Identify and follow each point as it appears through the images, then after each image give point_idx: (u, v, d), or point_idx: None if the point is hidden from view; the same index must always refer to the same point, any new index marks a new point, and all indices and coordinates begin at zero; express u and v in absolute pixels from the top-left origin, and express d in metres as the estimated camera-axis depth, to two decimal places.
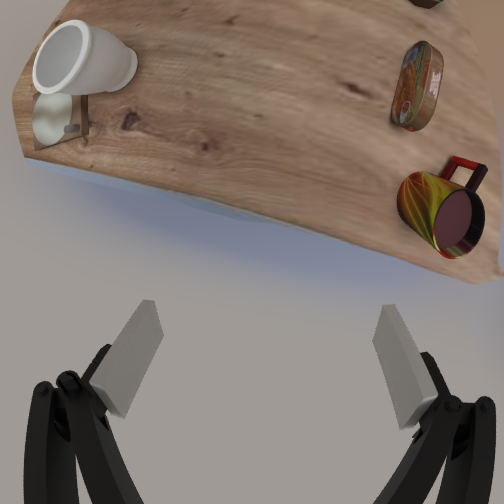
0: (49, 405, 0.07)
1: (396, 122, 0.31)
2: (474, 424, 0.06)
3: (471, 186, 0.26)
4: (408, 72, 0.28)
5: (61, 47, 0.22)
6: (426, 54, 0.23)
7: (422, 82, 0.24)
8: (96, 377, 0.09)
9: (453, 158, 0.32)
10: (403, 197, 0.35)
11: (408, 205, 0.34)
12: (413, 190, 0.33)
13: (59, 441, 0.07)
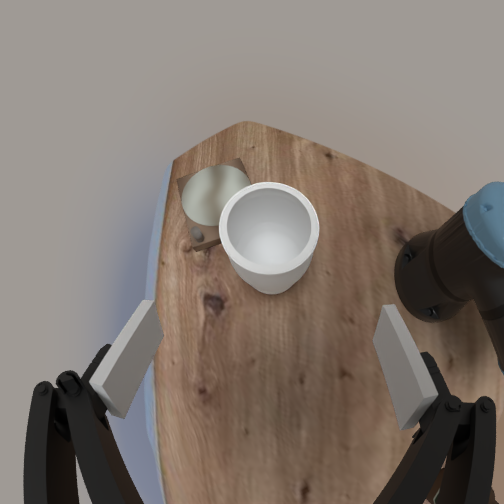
0: (49, 405, 0.07)
1: None
2: (474, 424, 0.06)
3: None
4: None
5: (287, 205, 0.33)
6: None
7: None
8: (96, 377, 0.09)
9: None
10: None
11: None
12: None
13: (59, 441, 0.07)
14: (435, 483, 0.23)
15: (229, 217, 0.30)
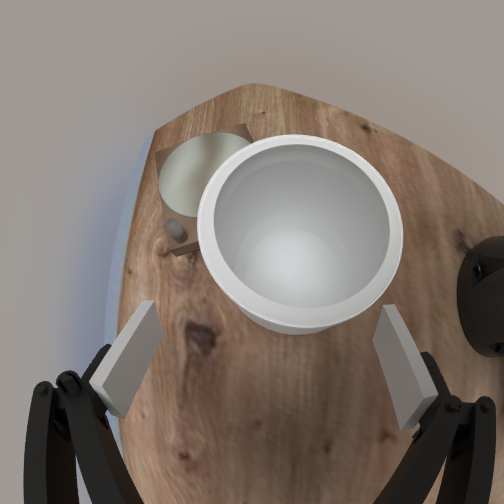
0: (49, 405, 0.07)
1: None
2: (474, 424, 0.06)
3: None
4: None
5: (327, 184, 0.18)
6: None
7: None
8: (96, 377, 0.09)
9: None
10: None
11: None
12: None
13: (59, 441, 0.07)
14: None
15: (221, 199, 0.15)
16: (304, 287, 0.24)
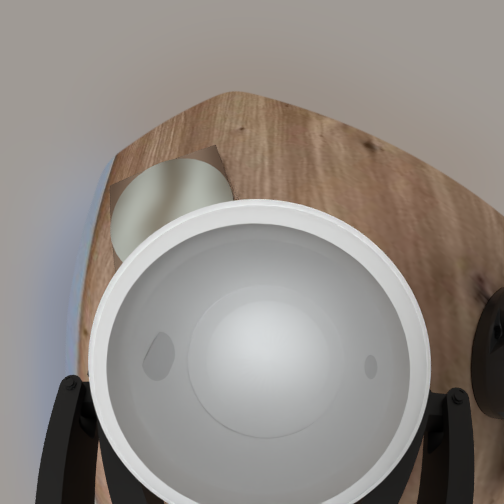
0: (76, 400, 0.08)
1: None
2: (447, 417, 0.07)
3: None
4: None
5: (311, 261, 0.12)
6: None
7: None
8: None
9: None
10: None
11: None
12: None
13: (82, 437, 0.07)
14: None
15: (131, 319, 0.09)
16: (284, 371, 0.18)
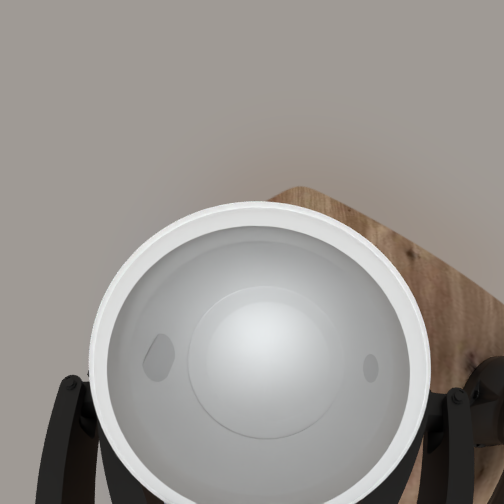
0: (76, 400, 0.08)
1: None
2: (447, 417, 0.07)
3: None
4: None
5: (311, 262, 0.12)
6: None
7: None
8: None
9: None
10: None
11: None
12: None
13: (82, 437, 0.07)
14: None
15: (132, 321, 0.09)
16: (284, 372, 0.18)
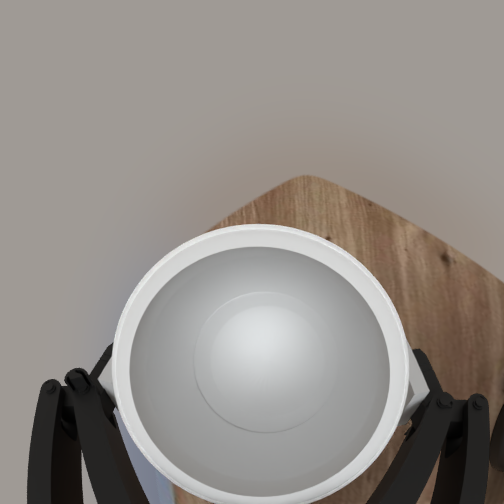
0: (56, 403, 0.08)
1: None
2: (467, 422, 0.06)
3: None
4: None
5: (308, 273, 0.13)
6: None
7: None
8: (105, 374, 0.09)
9: None
10: None
11: None
12: None
13: (65, 440, 0.07)
14: None
15: (148, 326, 0.10)
16: (283, 371, 0.19)
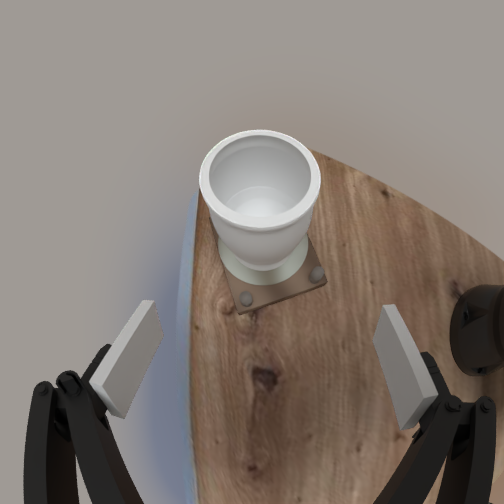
0: (49, 405, 0.07)
1: None
2: (474, 424, 0.06)
3: None
4: None
5: (280, 161, 0.28)
6: None
7: None
8: (96, 377, 0.09)
9: None
10: None
11: None
12: None
13: (59, 441, 0.07)
14: None
15: (212, 168, 0.24)
16: None
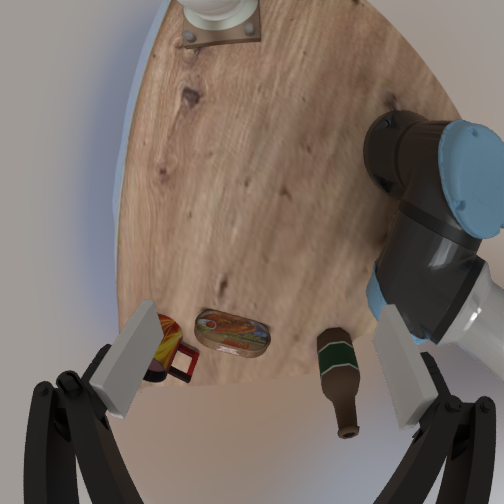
0: (49, 405, 0.07)
1: (200, 315, 0.52)
2: (474, 424, 0.06)
3: (173, 372, 0.50)
4: (244, 326, 0.53)
5: None
6: (255, 345, 0.49)
7: (228, 340, 0.49)
8: (96, 377, 0.09)
9: (197, 354, 0.58)
10: None
11: None
12: (162, 329, 0.52)
13: (59, 441, 0.07)
14: (326, 337, 0.52)
15: None
16: None
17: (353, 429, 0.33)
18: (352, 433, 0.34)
